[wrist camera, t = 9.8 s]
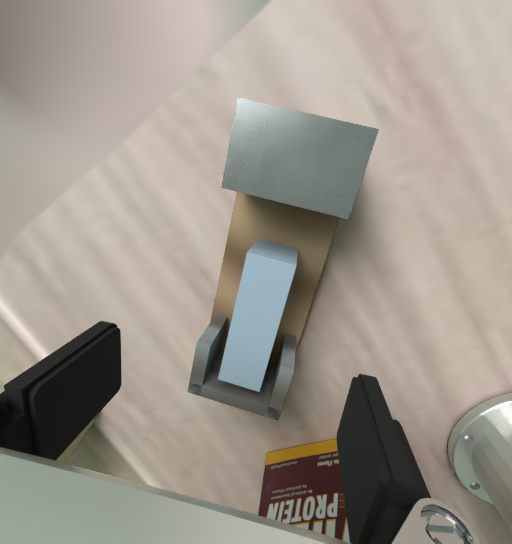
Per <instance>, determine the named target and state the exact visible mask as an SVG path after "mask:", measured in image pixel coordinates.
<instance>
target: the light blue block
mask: <svg viewBox="0 0 512 544" xmlns="http://www.w3.org/2000/svg"><path fill="white" fill-rule="evenodd" d="M297 254H298V248H294V247H290V246H286V245H282V244H279V243H275V242H271V241H267V240H263V239H260V238H259V239H258V240H257V241H256V242H255V243H254V245H253V246H252V247H251V248H250V249H249V250H248V252H247V255H246V259H245V264H244V268H243V272H242V277H241V281H240V285H239V290H238V294H237V298H236V303H235V307H234V311H233V316H232V320H231V324H230V329H229V333H228V338H227V342H226V346H225V351H224V355H223V359H222V364H221V368H220V372H219V377H218V379H219V380H222V381H225V382H228V383H232V384H235V385H238V386H241V387H245V388H248V389H251V390H254V391H258V392H260V388H261V385H262V382H263V378H264V375H265V371H266V368H267V365H268V361H269V358H270V354H271V351H272V347H273V344H274V341H275V337H276V334H277V330H278V327H279V324H280V320H281V317H282V313H283V310H284V307H285V303H286V300H287V296H288V293H289V289H290V286H291V283H292V279H293V276H294V272H295V269H296V266H297Z"/></svg>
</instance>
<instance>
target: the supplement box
mask: <svg viewBox="0 0 512 544" xmlns="http://www.w3.org/2000/svg"><path fill="white" fill-rule="evenodd" d="M258 516H262V517H266V518H269V519H273V520H277V521H280V522H284V523H287V524H290V525H294V526H297V527H300V528H304V529H307V530H310V531H314V532H317V533H321V534H324V535H327V536H331V537H334V538H337V539H340V540H342V541H345V542H348V543H350V540H349V532H348V524H347V517H346V509H345V502H344V494H343V487H342V479H341V472H340V464H339V457H338V449H337V439H333V440H327V441H322V442H317V443H312V444H307V445H302V446H297V447H292V448H286V449H281V450H276V451H271V452H267V453H266V462H265V470H264V477H263V484H262V492H261V500H260V507H259V514H258Z"/></svg>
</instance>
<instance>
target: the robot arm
mask: <svg viewBox="0 0 512 544" xmlns="http://www.w3.org/2000/svg"><path fill="white" fill-rule="evenodd" d="M120 387H121V338H120V329H119V328H117V325H116V324H114V323H109V322H104V321H100V322H98V323H97V324H95V325H94V326H92V327H91V328H89V329H88V330H86V331H85V332H83V333H82V334H80V335H79V336H77V337H76V338H74V339H73V340H71V341H70V342H68V343H67V344H65V345H64V346H62V347H61V348H59V349H58V350H56V351H55V352H53V353H52V354H50V355H49V356H47V357H46V358H44V359H43V360H41V361H40V362H38V363H37V364H35V365H34V366H32V367H31V368H29V369H28V370H26V371H25V372H23V373H22V374H20V375H19V376H17V377H16V378H14V379H13V380H11V381H10V382H8V383H7V384H5V385H4V389H5V391H4V392H2V393H1V394H0V544H481V542H480V540H479V538H478V536H477V534H476V533H475V531H474V529H473V528H472V527H471V526H470V524H469V523H468V522H467V521H466V519H465V518H464V517H462V516H461V515H460V514H459V513H458V512H457V511H456V510H455V509H453V508H452V507H450V506H449V505H447V504H446V503H443V502H441V501H439V500H436V499H432V498H431V496H430V494H429V492H428V489H427V487H426V484H425V482H424V479H423V477H422V475H421V472H420V470H419V467H418V465H417V463H416V460H415V458H414V455H413V453H412V450H411V448H410V446H409V443H408V441H407V438H406V436H405V433H404V431H403V429H402V426H401V424H400V423H399V422H398V421H397V420H393V419H392V417H391V414H390V411H389V409H388V406H387V404H386V401H385V399H384V396H383V393H382V391H381V388H380V386H379V383H378V380H377V378H376V377H372V376H367V375H362V374H359V376H358V378H357V377H353V379H352V382H351V386H350V389H349V393H348V396H347V400H346V403H345V407H344V410H343V414H342V418H341V421H340V425H339V428H338V432H337V449H338V457H339V464H340V472H341V479H342V487H343V494H344V502H345V509H346V517H347V524H348V532H349V540H350V543H348V542H345V541H342V540H340V539H337V538H334V537H331V536H327V535H324V534H321V533H317V532H314V531H310V530H307V529H304V528H300V527H297V526H294V525H290V524H287V523H284V522H280V521H277V520H273V519H269V518H266V517H262V516H258V515H255V514H251V513H248V512H244V511H240V510H237V509H233V508H230V507H226V506H222V505H219V504H215V503H211V502H208V501H204V500H201V499H197V498H193V497H189V496H186V495H182V494H178V493H175V492H171V491H167V490H164V489H160V488H156V487H152V486H149V485H145V484H141V483H138V482H134V481H130V480H126V479H123V478H119V477H115V476H112V475H108V474H104V473H100V472H96V471H92V470H89V469H85V468H81V467H77V466H73V465H70V464H66V463H62V462H58V461H56V460H57V459H58V458H59V457H60V455H61V454H62V453H63V452H64V451H65V450H66V449H67V448H68V447H69V445H70V444H71V443H72V442H73V441H74V440H75V439H76V438H77V437H78V435H79V434H80V433H81V432H82V431H83V430H84V429H85V428H86V427H87V425H88V424H89V423H90V422H91V421H92V420H93V419H94V418H95V417H96V415H97V414H98V413H99V412H100V411H101V410H102V409H103V408H104V407H105V405H106V404H107V403H108V402H109V401H110V400H111V399H112V398H113V397H114V395H115V394H116V393H117V392H118V391H119V389H120ZM448 457H449V461H450V464H451V466H452V468H453V470H454V472H455V474H456V476H457V477H458V479H459V481H460V482H461V483H462V485H463V486H464V487H465V488H466V489H467V490H468V491H470V492H471V493H472V494H474V495H475V496H477V497H478V498H480V499H482V500H484V501H486V502H488V503H490V504H493V505H495V507H496V509H497V510H498V512H499V513H500V515H501V517H502V518H503V520H504V522H505V523H506V525H507V527H508V528H509V530H510V532H511V533H512V392H511V393H507V394H503V395H500V396H496V397H493V398H491V399H489V400H487V401H485V402H482V403H480V404H479V405H477V406H476V407H474V408H473V409H471V410H470V411H468V412H467V413H466V414H465V415H464V416H463V417H462V418H461V419H460V420H459V421H458V423H457V424H456V426H455V427H454V429H453V430H452V433H451V435H450V438H449V441H448Z"/></svg>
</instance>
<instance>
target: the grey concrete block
mask: <svg viewBox="0 0 512 544" xmlns="http://www.w3.org/2000/svg"><path fill="white" fill-rule="evenodd" d="M378 130H379V129H375V128H371V127H366V126H362V125H357V124H353V123H349V122H344V121H340V120H335V119H331V118H326V117H322V116H317V115H313V114H308V113H304V112H299V111H295V110H291V109H286V108H282V107H277V106H273V105H268V104H264V103H259V102H255V101H250V100H246V99H241V98H238V101H237V106H236V111H235V117H234V122H233V128H232V133H231V138H230V144H229V149H228V155H227V160H226V166H225V171H224V176H223V182H222V187H221V188H225V189H229V190H233V191H237V192H241V193H245V194H249V195H253V196H257V197H261V198H265V199H269V200H273V201H277V202H281V203H285V204H289V205H293V206H297V207H301V208H305V209H309V210H313V211H317V212H321V213H325V214H329V215H333V216H337V217H341V218H345V219H349V217H350V214H351V211H352V208H353V205H354V202H355V199H356V196H357V193H358V190H359V187H360V184H361V181H362V178H363V175H364V172H365V169H366V166H367V163H368V160H369V157H370V154H371V151H372V148H373V145H374V142H375V139H376V136H377V133H378Z"/></svg>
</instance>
